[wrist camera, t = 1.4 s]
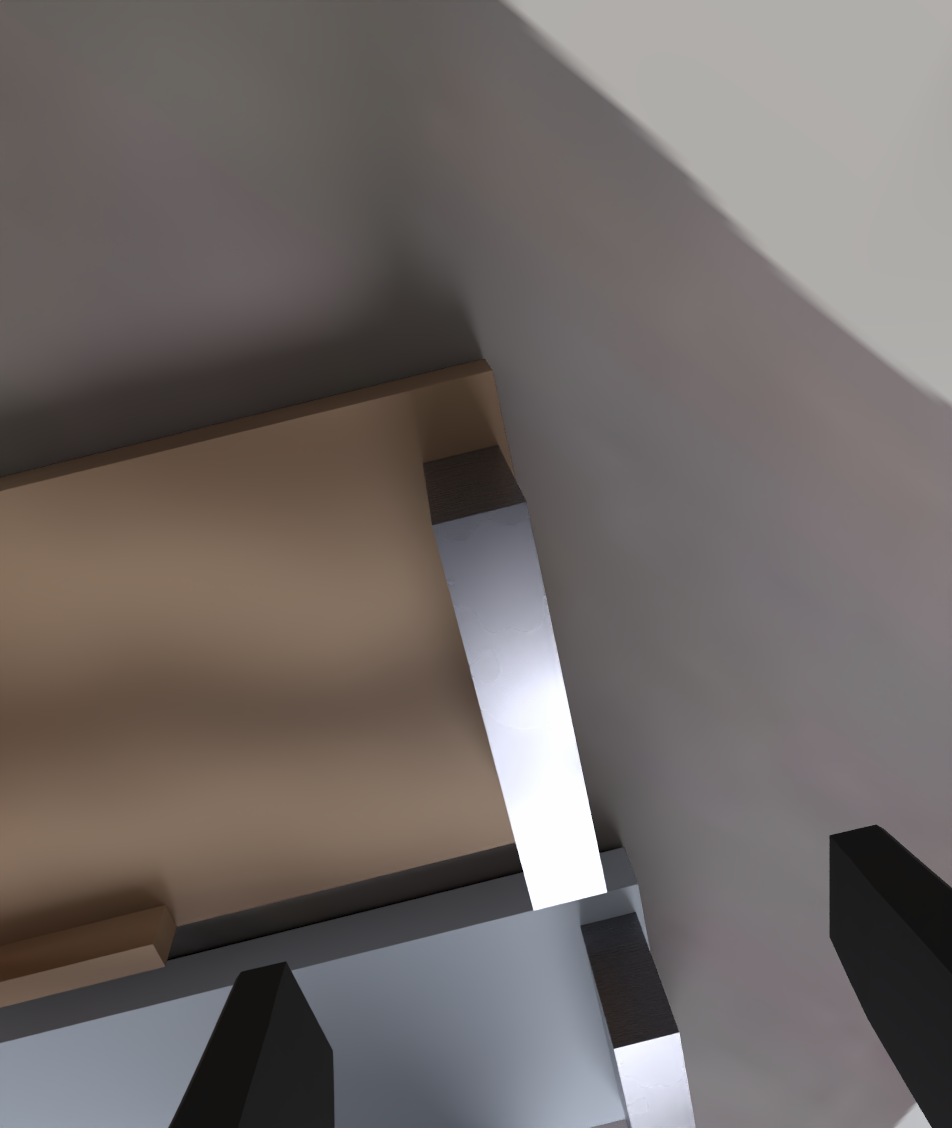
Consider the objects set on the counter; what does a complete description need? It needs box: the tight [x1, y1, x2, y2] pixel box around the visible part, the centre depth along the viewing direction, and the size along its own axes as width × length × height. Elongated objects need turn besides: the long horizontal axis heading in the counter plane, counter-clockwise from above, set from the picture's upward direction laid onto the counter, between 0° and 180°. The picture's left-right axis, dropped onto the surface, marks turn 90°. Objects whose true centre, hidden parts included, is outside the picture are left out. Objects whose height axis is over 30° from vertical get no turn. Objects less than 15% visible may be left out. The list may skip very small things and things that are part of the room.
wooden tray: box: [0, 359, 607, 1008], centre depth 17 cm, size 12×22×5 cm, turn 102°
